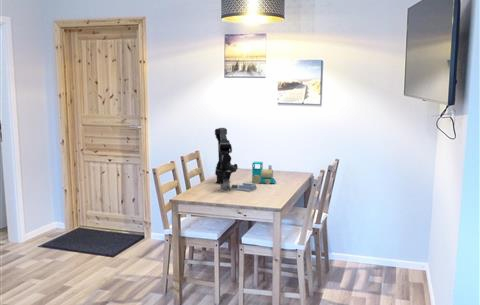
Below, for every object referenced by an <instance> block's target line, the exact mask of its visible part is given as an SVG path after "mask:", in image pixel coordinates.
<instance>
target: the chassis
mask: <svg viewBox="0 0 480 305" xmlns="http://www.w3.org/2000/svg"><path fill="white" fill-rule="evenodd" d="M256 189H257V184H255V183H247V182H243V183H242V184H231V186H230V189H229V190H233V191H239V192H240V191H241V192H248V193H249V192H250V193H251V192H252V191H255V190H256Z"/></svg>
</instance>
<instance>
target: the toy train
mask: <svg viewBox="0 0 480 305" xmlns="http://www.w3.org/2000/svg"><path fill="white" fill-rule="evenodd" d="M263 164H264V162H263V161H252V168H251V169H252V170H251V174H252V175H251V179H252V180H251V182H252V183H253V184H256V185H257V184H260V183H263V184H266V185H270V184H276V183H277V180H275V178H274V170H273V169H272V168H273V167H272V164H268V169H267V168H263ZM256 165H259V168H256Z"/></svg>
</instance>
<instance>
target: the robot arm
mask: <svg viewBox="0 0 480 305" xmlns="http://www.w3.org/2000/svg"><path fill="white" fill-rule="evenodd" d="M227 134H228V129H227V128H226V127H219V128H215V129H214V136H215V139H216V141H217V147H218V149H217V150H218V151H217V152H218V155H217V156H218V161H217V163H216V166H215V170H214V175H216V182H215V184H220V185H221V184H223V181H224V179H228V180H230V179H231V176H232V174H233V173H235V172H237V170H238V169H239V167H238V164H237V163H234V164H232V163H231V162H232V156H231V155H230V154H232V152H233V147H232V144H231V143H230V140H229V139H228V138H227Z"/></svg>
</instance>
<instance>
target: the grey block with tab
mask: <svg viewBox="0 0 480 305" xmlns="http://www.w3.org/2000/svg"><path fill="white" fill-rule="evenodd" d="M230 184H231V182H230V179H229V180H228V179H224V181H223V184H221V183H220V190H225V191H228V190H230V188H231V185H230Z"/></svg>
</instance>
